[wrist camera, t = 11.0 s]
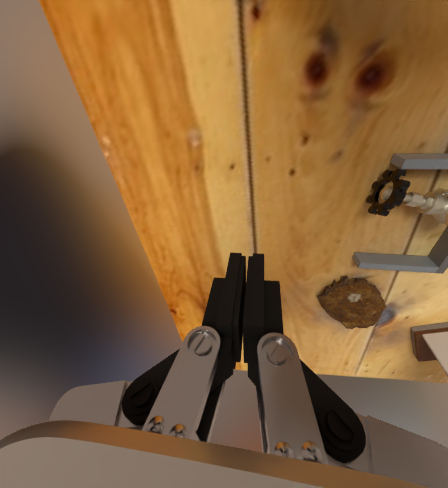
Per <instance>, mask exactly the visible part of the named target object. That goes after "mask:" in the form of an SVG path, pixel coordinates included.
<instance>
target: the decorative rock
mask: <svg viewBox="0 0 448 488" xmlns="http://www.w3.org/2000/svg"><path fill="white" fill-rule="evenodd" d="M325 288H326V292H325V293H324V295H319V296H317V297H318V299H319V301H320V304H321V306H322V307H323V308H324V309H325V310H326V312H327V313H328V314H329V315H330V316H331V317H333V318H334V319H336V320H338V321H340V322H341V323H342V324H343V325H344V326H345V327H346V328H351V329H353V328H355V327H358V328H368V327H369V326H373V325H374V324H375V323H376V322H377V321H378V319H379V318H380V315H381V312H382V311H383V310H384V309H385V308H386V305H385V303H384V300H383V299H382V297H381V294H380V292H379V291H378V290H377V288H376V286H375V285H371V284H369V283H368V282H367V280H365V279H364V278H363V279H361V280H360V279H357V278H355V279H353V278H351V279H349V278H348V277H347V276H341V281H339V282H336V281H335V280H334V285H333V287H331V286H328V287H325Z"/></svg>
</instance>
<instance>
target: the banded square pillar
mask: <svg viewBox="0 0 448 488" xmlns="http://www.w3.org/2000/svg"><path fill="white" fill-rule="evenodd" d="M411 334H412V343H413V352H414V355H415V357H416V358H417V360H418V361H430V360H438V362H439V363H440V365H441V366H442V368H443V370H444V371H445V373H446V374H447V376H448V322H445V323H437V324H430V325H422V326H415V327H411Z"/></svg>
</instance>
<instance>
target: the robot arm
mask: <svg viewBox="0 0 448 488" xmlns="http://www.w3.org/2000/svg"><path fill="white" fill-rule="evenodd" d="M242 338H243V346H244V363H248V377H249V378H250V379H251V381H252V382H253V383H254V385H255V386H256V393H257V403H258V412H259V422H260V431H261V440H262V450H263V453H262V452H256V451H251V450H246V449H240V448H234V447H229V446H224V445H218V444H213V443H209V442H210V438H211V434H212V431H213V427H214V424H215V420H216V416H217V412H218V408H219V405H220V401H221V397H222V394H223V390H224V386H225V381H226V380H227V379H228V378H229V377H230V376H231V375H233V369H235V366H236V362H240V361H241V350H242ZM0 488H448V449H447V448H446V447H445V446H443V445H441V444H439V443H437V442H435V441H432V440H430V439H427V438H425V437H422V436H420V435H417V434H414V433H412V432H409V431H407V430H404V429H402V428H399V427H397V426H394V425H391V424H389V423H386V422H383V421H381V420H379V419H376V418H373V417H371V416H367V417H365V416H362V415H359V414H357V413H355V412H354V411H353V410H352V409H351V408H350V407H349V406H348V405H347V404H346V403H345V402H344V401H343V400H342V399H341V398H340V397H339V396H337V394H336V393H335V392H334V391H332V390H331V389H330V388H329V387H328V386H327V385H326V384H325V383H324V382H323V381H322V380H321V379H320V378H319V377H318V376H317V375H316V374H315V373H314V372H313V371H312V370H311V369H310V368H309V367H308V366H307V365H305V364H304V363H303V362H302V361H301V360H300V359H299V355H298V352H297V349H296V346H295V344H294V343H293V342H292V341H291V339H290V338H288V337H287V336H285V335H284V334H283V321H282V308H281V295H280V283H279V281H265V280H264V254H253V256H249V259H248V270H247V282H246V257H245V256H242V254H241V253H230V257H229V262H228V267H227V272H226V277H225V278H214V280H213V283H212V287H211V291H210V295H209V299H208V303H207V307H206V311H205V315H204V319H203V323H202V326H200V327H197V328H195V329H192V330H191V331H190V332H189V333H188V334H187V336H186V337H185V339H184V341H183V343H182V346H181V348H180V349H179V350H177V351H176V352H174V353H173V354H171V355H170V356H168V357H167V358H166V359H164V360H163V361H161V362H160V363H158V364H157V365H156V366H154V367H152V368H151V369H150V370H148V371H147V372H145V373H144V374H142V375H141V376H139V377H138V378H137V379H135V380H134V381H132V382H126V381H117V382H109V383H102V384H94V385H87V386H80V387H76V388H73V389H71V390H70V391H68V392H67V393H65V394H64V396H62V398H61V399H60V400H59V401H58V403H57V404H56V406H55V408H54V410H53V412H52V415H51V417H50V419H49V421H48V422H43V423H39V424H35V425H31V426H29V427H26V428H23V429H20V430H18V431H16V432H14V433H12V434H10V435H8V436H6V437H4V438H3V439H1V440H0Z"/></svg>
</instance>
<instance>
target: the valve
mask: <svg viewBox="0 0 448 488" xmlns="http://www.w3.org/2000/svg"><path fill="white" fill-rule="evenodd" d="M401 175H402V176H405V175H406V170H403V169H399V168H397V169H395V170H394V171H390V170H386V171H384V173H383V174H382V177H383V179H382V181H381V182H378V181H375V182H374V183H373V184H372V189H374V192H373V194H372V195H370V196H368V197H367V199H366V202H367V203H371V204H372V206H370V207H369V209H368V212H369V213H371V214H375V215H376V214H378V215H382V216H387V215H388V214H389V212H390V211H388V210H390V209H392V208H394V207H395V206H400V205H401V204H402V202H403V203H404V204H405V205H408V206H412V207H416V206H417V210H418V212H420V213H422V214H427V215H432V216H433V218H434V219H435V220H437V221H438V222H440V223H443V224H445V225H447V226H448V190H447V189H443V188H438V189H436V190H435V191H433V192H429V193H426V194H425V195H423V196H422V195H421V194H419V193H415V192H409V193H407V194H406V191H407V189H408V187H409V186H410V182H409V181H406V180H402V179H399V177H400V176H401ZM390 181H392V182H393V187H389V186H386V187H385V185H386V184H387V183H388V182H390ZM380 191H381V192H380ZM379 193H380V198H382V199H385V200H386V201H385V202H384V203H382V204H379V201H378V197H379ZM377 209H378V210H377Z"/></svg>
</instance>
